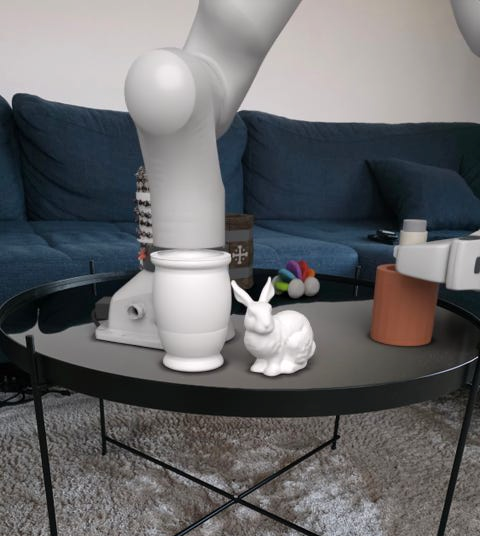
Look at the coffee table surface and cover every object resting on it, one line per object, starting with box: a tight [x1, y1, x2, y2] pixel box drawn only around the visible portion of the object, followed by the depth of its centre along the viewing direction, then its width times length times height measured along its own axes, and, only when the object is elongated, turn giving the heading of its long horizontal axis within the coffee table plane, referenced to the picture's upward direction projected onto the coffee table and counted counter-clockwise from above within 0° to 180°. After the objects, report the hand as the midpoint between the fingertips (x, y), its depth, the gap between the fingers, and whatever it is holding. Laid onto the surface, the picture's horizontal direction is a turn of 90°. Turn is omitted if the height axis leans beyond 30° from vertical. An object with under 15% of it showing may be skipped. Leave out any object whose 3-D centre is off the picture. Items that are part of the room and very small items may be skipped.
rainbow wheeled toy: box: [271, 259, 321, 300], centre depth 124 cm, size 8×10×7 cm
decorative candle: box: [132, 165, 153, 272], centre depth 115 cm, size 9×9×25 cm
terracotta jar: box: [369, 263, 441, 347], centre depth 94 cm, size 10×10×11 cm
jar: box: [150, 249, 232, 373], centre depth 80 cm, size 11×10×15 cm
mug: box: [225, 212, 255, 292], centre depth 132 cm, size 20×14×15 cm
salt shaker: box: [398, 219, 429, 245], centre depth 91 cm, size 4×4×10 cm
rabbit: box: [231, 276, 317, 377], centre depth 80 cm, size 12×9×12 cm
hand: (406, 249), depth 91 cm, fingers closed on salt shaker, 4 cm apart
